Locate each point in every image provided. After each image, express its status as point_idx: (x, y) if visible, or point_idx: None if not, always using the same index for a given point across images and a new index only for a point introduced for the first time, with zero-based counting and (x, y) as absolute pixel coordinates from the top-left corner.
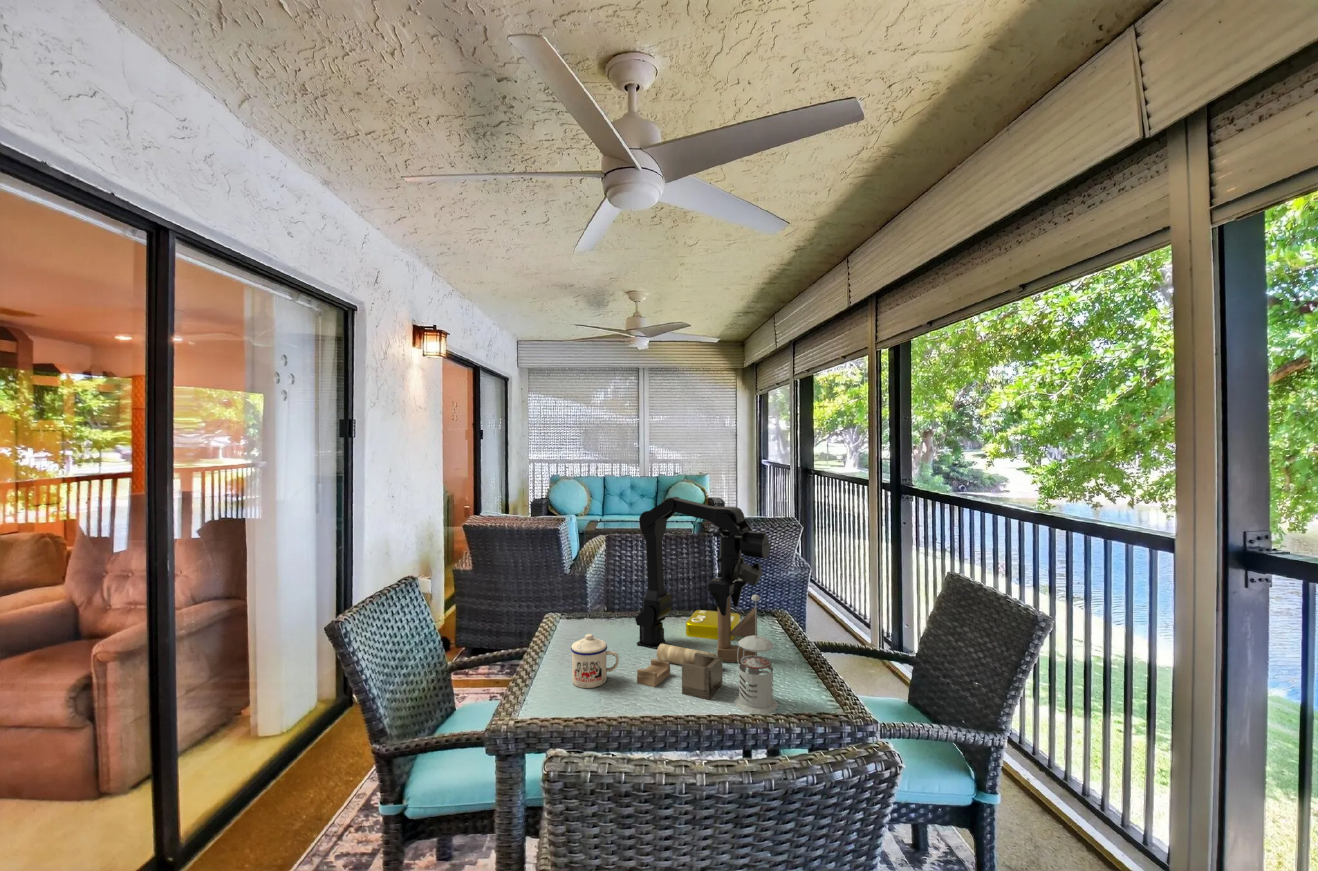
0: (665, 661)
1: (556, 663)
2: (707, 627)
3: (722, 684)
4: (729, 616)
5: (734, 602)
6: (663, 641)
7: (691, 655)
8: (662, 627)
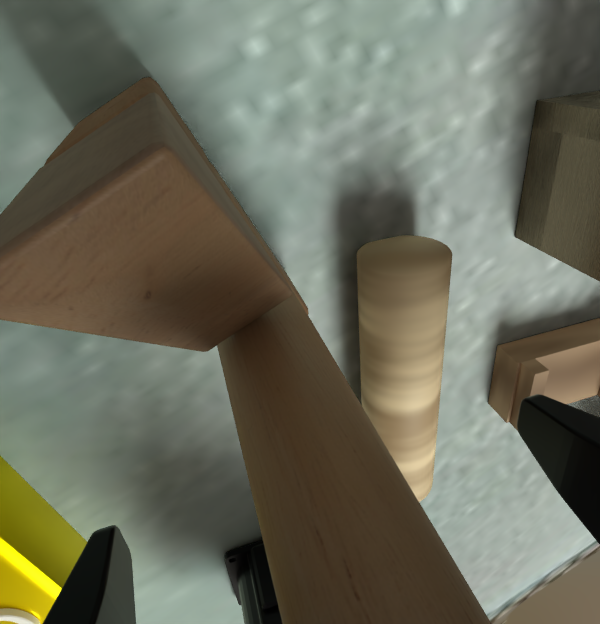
0: (531, 389)
1: (527, 567)
2: (25, 550)
3: (542, 101)
4: (332, 415)
5: (127, 596)
6: (258, 547)
7: (442, 358)
8: (264, 612)
